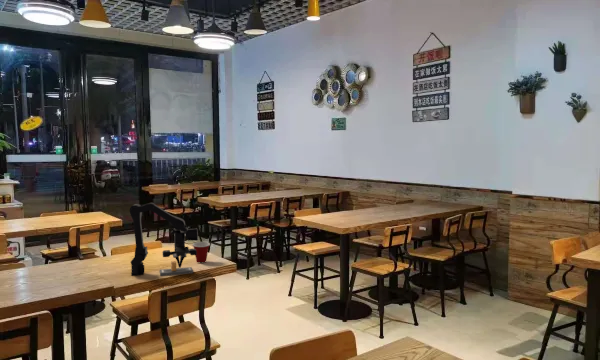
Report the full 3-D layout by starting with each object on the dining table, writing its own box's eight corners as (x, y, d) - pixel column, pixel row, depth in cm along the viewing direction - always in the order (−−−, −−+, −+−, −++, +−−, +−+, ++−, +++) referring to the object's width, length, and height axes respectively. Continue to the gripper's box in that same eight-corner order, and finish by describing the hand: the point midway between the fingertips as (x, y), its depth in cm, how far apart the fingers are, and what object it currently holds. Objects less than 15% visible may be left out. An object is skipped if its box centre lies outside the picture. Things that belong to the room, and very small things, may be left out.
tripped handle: (171, 270, 252) (171, 263, 252) (171, 269, 256) (171, 261, 255) (176, 270, 253) (176, 262, 252) (175, 268, 256) (175, 261, 256)
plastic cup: (194, 265, 272) (193, 245, 272) (191, 261, 282) (191, 242, 282) (211, 263, 276) (211, 244, 276) (208, 259, 286) (208, 241, 286)
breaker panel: (160, 275, 248) (160, 273, 248) (159, 272, 255) (159, 269, 255) (193, 273, 254) (193, 270, 254) (191, 269, 262) (191, 266, 262)
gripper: (163, 244, 244) (163, 272, 244) (198, 242, 250) (198, 269, 251) (162, 240, 254) (162, 267, 255) (195, 238, 260) (195, 265, 261)
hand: (179, 267), depth 255 cm, fingers closed
